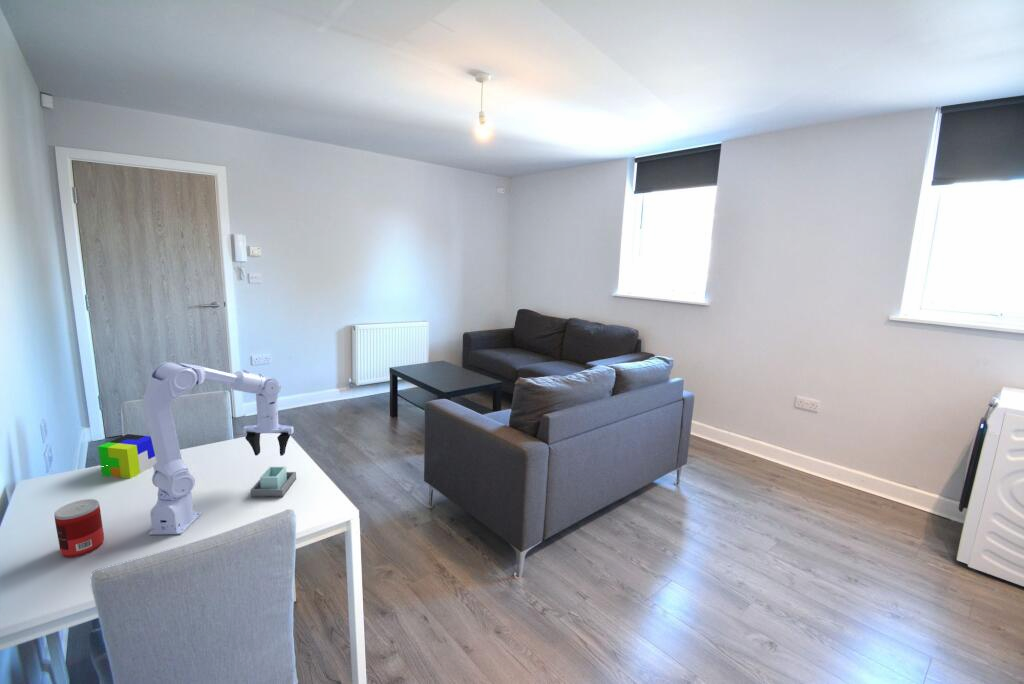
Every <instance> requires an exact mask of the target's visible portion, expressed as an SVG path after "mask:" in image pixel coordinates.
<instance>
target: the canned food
mask: <svg viewBox="0 0 1024 684" xmlns="http://www.w3.org/2000/svg"><path fill="white" fill-rule="evenodd" d="M99 502H100V501H99V500H98V499H94V498H88V499H87V498H86V499H81V500H76V501H73V502H70V503H67V504H65V505H63V506H61V507H59V508H58V509H57V510H56V511H55V512H54V522H55V528H56V529H55V530H56V534H57V539H58V545H59V551H60V553H61V556H63V557H65V558H77V557H76V556H78V557H81V556H80V555H82V556H85V555H87V554H86V553H88V554H89V552H90V553H92V552H94V551H96V550H97V549H98V548H100V547H101V546H102V545H103V543H104V541H105V535H104V527H103V519H102V514H101V513H102V512H101V506H100V503H99ZM95 549H96V550H95ZM93 550H94V551H93ZM91 551H92V552H91ZM84 554H85V555H84Z"/></svg>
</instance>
